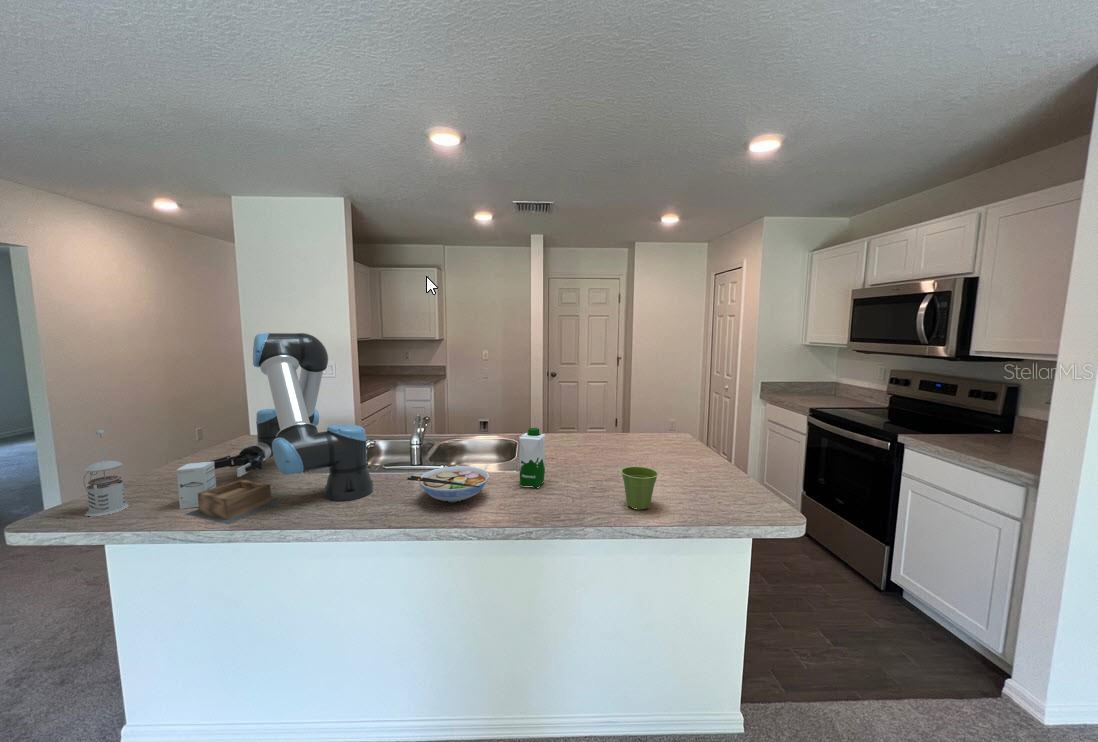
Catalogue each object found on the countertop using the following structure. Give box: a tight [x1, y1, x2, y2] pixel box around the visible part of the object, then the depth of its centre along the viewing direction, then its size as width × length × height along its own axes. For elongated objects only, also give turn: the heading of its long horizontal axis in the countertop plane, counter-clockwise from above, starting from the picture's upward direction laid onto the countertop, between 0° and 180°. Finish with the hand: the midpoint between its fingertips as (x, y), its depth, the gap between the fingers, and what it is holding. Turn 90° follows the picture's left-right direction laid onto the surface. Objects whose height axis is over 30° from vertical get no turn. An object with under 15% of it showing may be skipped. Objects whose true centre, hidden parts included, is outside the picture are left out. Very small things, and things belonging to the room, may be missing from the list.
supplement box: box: [176, 461, 217, 510], centre depth 136 cm, size 7×7×13 cm
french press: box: [82, 429, 130, 517], centre depth 131 cm, size 10×12×25 cm
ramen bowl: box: [406, 465, 490, 503], centre depth 143 cm, size 25×23×8 cm
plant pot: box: [620, 465, 659, 510], centre depth 137 cm, size 12×12×11 cm
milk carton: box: [518, 427, 546, 487], centre depth 155 cm, size 9×9×20 cm
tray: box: [198, 478, 272, 520], centre depth 133 cm, size 13×13×6 cm
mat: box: [185, 498, 284, 525], centre depth 133 cm, size 19×17×1 cm
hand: (216, 473), depth 145 cm, fingers open, 13 cm apart
